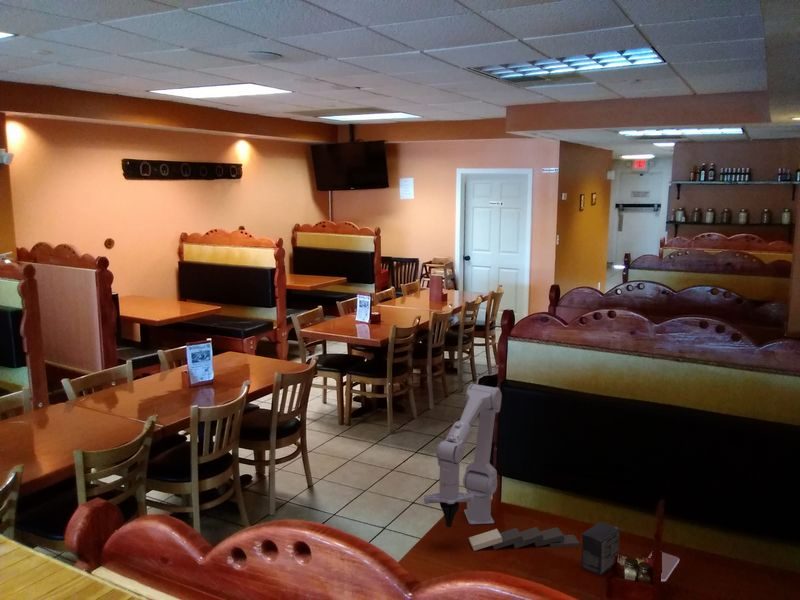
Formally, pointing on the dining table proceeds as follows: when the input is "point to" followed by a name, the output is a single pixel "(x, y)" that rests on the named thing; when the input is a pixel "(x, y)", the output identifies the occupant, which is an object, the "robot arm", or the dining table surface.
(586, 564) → the small box
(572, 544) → the grey domino
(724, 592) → the dining table surface
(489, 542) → the ivory domino
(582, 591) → the dining table surface
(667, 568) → the mobile phone
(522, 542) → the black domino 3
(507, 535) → the grey domino
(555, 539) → the grey domino
